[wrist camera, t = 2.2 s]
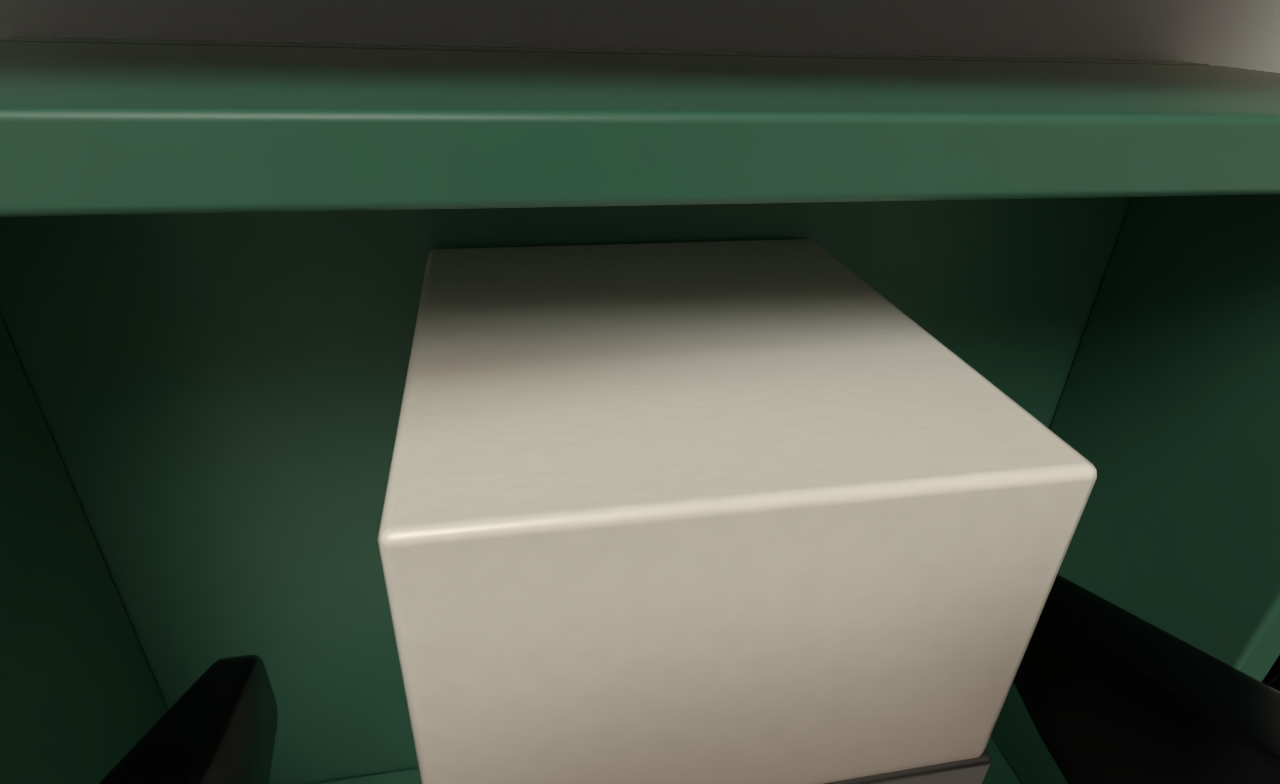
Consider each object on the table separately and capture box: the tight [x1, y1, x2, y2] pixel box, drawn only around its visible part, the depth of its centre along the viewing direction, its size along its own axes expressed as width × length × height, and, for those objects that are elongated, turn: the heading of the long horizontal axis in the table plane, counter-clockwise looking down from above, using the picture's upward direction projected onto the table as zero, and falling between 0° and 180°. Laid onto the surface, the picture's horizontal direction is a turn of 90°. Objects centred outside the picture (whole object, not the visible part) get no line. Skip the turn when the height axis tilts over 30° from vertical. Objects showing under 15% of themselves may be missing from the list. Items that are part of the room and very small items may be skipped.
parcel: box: [378, 239, 1097, 784], centre depth 9 cm, size 8×5×5 cm, turn 178°
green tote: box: [0, 37, 1280, 784], centre depth 10 cm, size 12×15×4 cm
